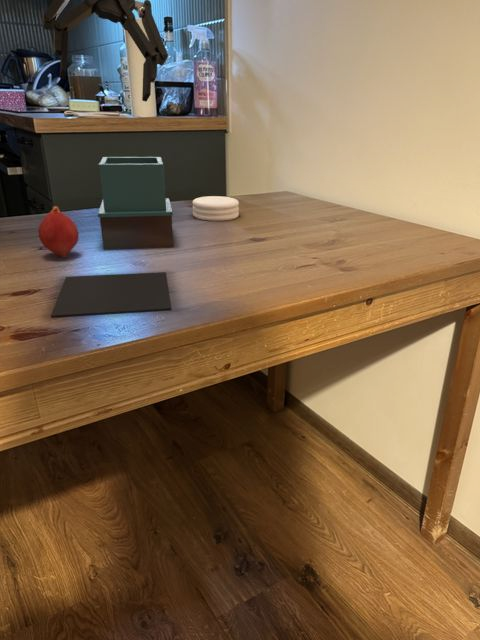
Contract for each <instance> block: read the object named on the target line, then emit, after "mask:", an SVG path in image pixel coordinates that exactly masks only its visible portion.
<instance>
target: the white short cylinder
mask: <svg viewBox="0 0 480 640" xmlns="http://www.w3.org/2000/svg"><path fill="white" fill-rule="evenodd" d="M239 205H240V202H239V200H238V199H236V198H233V197H229V196H224V195H223V196H221V195H220V196H219V195H209V196H200V197H197V198H194V199H193V200H192V217H194V218H195V219H197V220H201V221H207V222H208V221H209V222H225V221H232V220H234V219H237V218H238V217H239V215H240V213H239V210H240V208H239V207H240V206H239Z"/></svg>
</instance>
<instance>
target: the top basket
mask: <svg viewBox="0 0 480 640" xmlns="http://www.w3.org/2000/svg"><path fill="white" fill-rule="evenodd" d="M98 170H99V177H100V178H99V179H100V186H101V192H102V193H101V194H102V200H101V203H100V205H99V209H98V212H97V217H98V218H100V217H130V216H172V217H173V216H174V212H173V208H172V205H171V200H170V198H168V197H166V183H165V169H164V162H163V159H162V157H161V156H102V158H101V160H100V162H99V163H98Z"/></svg>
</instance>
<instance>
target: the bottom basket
mask: <svg viewBox="0 0 480 640" xmlns="http://www.w3.org/2000/svg"><path fill="white" fill-rule="evenodd" d="M172 217H173V215H172V216H130V217H99V222H100V223H99V224H100V231H101V238H102V247H103V251H114V250H115V251H116V250H118V251H119V250H120V251H121V250H139V249H140V250H143V249H144V250H145V249H169V248H170V249H171V248H172V249H173V248H174V231H173V218H172Z"/></svg>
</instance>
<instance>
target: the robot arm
mask: <svg viewBox="0 0 480 640" xmlns="http://www.w3.org/2000/svg"><path fill="white" fill-rule="evenodd" d="M69 2H70V0H53V1H52V2H51V3H50V5H49V6H48V7H47V9H46V10H45V12H44V13H43V15H42V23H41V27H42V28H43V29H44V30H48V31H50V32H51V33H52V35H53V49H52V50H53V52H54V55H56V56H60V61H59V63H60V65H59V79H61V80H66V76H67V71H68V48H69V47H68V45H69V31H70V30H72V29H73V28H75V27H76V26H77V25H78V24H80V23H82V22H83V21H84V20H85V19H88V18H90V17H91V16H92V15H93V14H95V15H96V16H97V18H99V19H101V20H108V21H110V22H111V23H114V24H118V23H120V25H121V27H122V28H123V30H124V31H126V32H127V34H128V35H129V36H130V38H131V39H132V41H133V43H134V44H135V45H136V47H137V49H138V50H139V52H140V53H141V55H142V57H143V58H144V59H145V60H144V62H143V65H142V94H141V95H142V96H141V100H142V102H148V100H149V98H150V96H151V90H152V83H153V84H154V83H155V81H156V79H157V76H158V65H159V66H164V65H165V63H166V61H167V60H168V58H169V54H168V52H167V51H168V50H167V49H166V45H165V42H164V41H163V38H162V36H161V33H160V31H159V28H158V26H157V23H156V21H155V18H154V16H153V10H152V3H151V1H150V0H144V1H139V0H84V1H82V2H81V3H80V4H78V5H77V6H75V7H74V8H73V9H72V10H70V11H69V12H67V13H66V14H64V15H63V16H62V17H61V18H60V19H58V18H59V16H60V15H61V14H62V12H63V10H64V9H65V8H66V6H67V5H68V4H69ZM133 11H135V12H137V16H138V18H140V19H141V23H142V26H143V29H144V31H143V29H142V27H141V26H140V24H139V23H138V21H137V20H136V15H135V14H134V12H133ZM57 19H58V20H57Z"/></svg>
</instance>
